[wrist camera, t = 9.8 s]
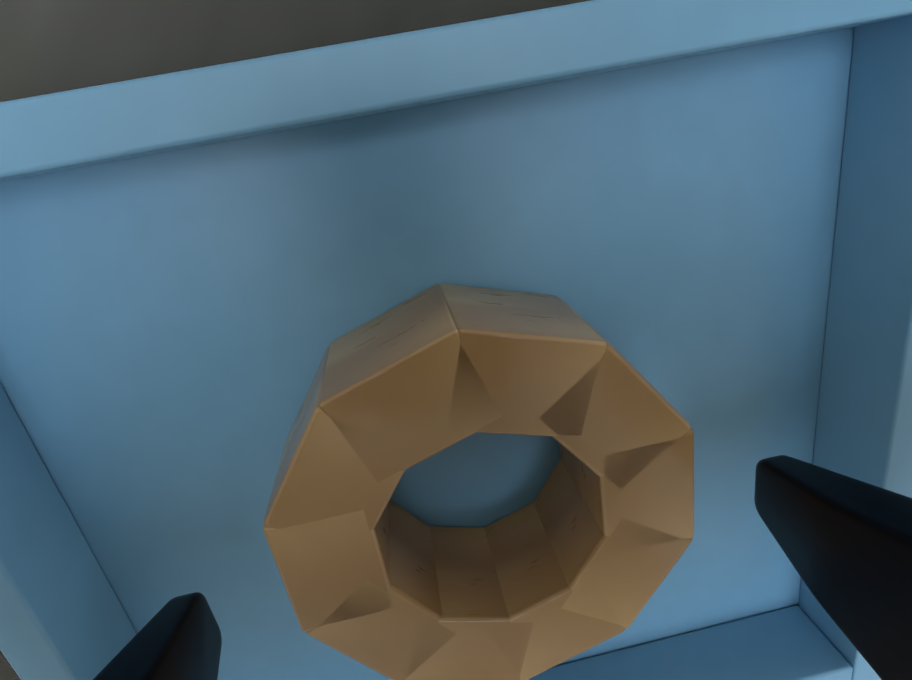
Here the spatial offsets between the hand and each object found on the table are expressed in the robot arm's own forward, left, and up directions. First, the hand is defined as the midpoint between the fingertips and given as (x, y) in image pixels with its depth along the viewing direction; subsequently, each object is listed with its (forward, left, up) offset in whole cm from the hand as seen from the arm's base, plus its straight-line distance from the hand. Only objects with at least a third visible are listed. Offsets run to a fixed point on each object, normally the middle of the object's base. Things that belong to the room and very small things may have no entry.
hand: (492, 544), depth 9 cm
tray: (0, 0, -3) cm, 3 cm away
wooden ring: (0, 0, -2) cm, 3 cm away
